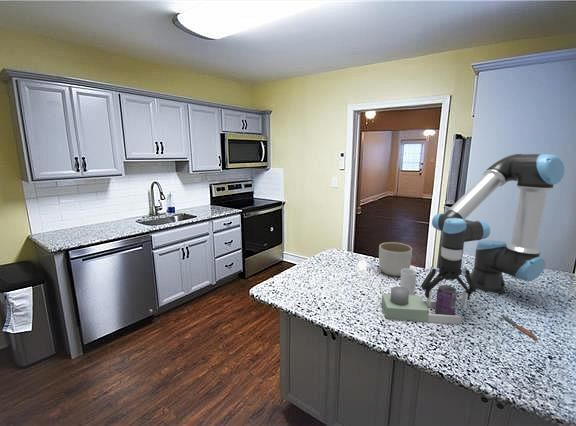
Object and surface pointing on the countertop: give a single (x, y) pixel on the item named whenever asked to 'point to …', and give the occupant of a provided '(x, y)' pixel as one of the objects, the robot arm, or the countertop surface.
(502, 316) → the knife
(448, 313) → the beverage can
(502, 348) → the countertop surface
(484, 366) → the countertop surface
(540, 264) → the robot arm
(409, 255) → the planter
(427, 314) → the stepped platform base
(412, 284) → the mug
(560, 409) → the countertop surface
